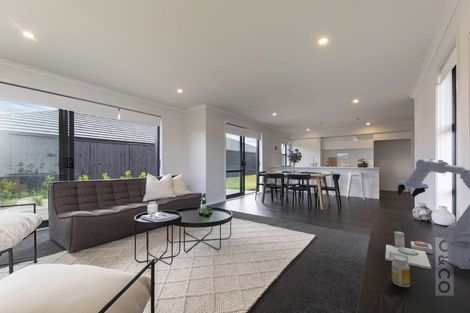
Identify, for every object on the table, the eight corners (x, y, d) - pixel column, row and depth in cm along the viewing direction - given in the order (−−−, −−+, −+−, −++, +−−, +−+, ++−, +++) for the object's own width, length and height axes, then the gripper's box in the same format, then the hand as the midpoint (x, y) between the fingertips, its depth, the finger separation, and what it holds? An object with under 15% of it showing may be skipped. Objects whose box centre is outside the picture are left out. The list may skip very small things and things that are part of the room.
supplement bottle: (391, 283, 80) (390, 258, 81) (393, 278, 84) (392, 253, 85) (409, 289, 77) (408, 262, 77) (410, 283, 81) (409, 257, 81)
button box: (432, 254, 106) (432, 249, 106) (412, 250, 111) (411, 245, 111) (430, 248, 112) (430, 244, 112) (411, 245, 117) (410, 241, 117)
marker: (406, 248, 114) (406, 234, 114) (398, 247, 114) (397, 233, 114) (401, 245, 118) (400, 231, 118) (393, 245, 118) (392, 231, 119)
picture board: (431, 269, 91) (430, 266, 91) (385, 259, 100) (385, 257, 100) (425, 253, 107) (425, 251, 107) (386, 246, 116) (386, 244, 116)
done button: (427, 247, 108) (427, 245, 108) (415, 245, 111) (415, 243, 111) (426, 244, 112) (426, 242, 112) (415, 242, 115) (415, 240, 115)
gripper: (428, 174, 118) (416, 191, 126) (399, 171, 121) (389, 188, 129) (435, 183, 113) (422, 200, 121) (404, 179, 115) (393, 196, 124)
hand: (405, 194), depth 125 cm, fingers open, 7 cm apart
